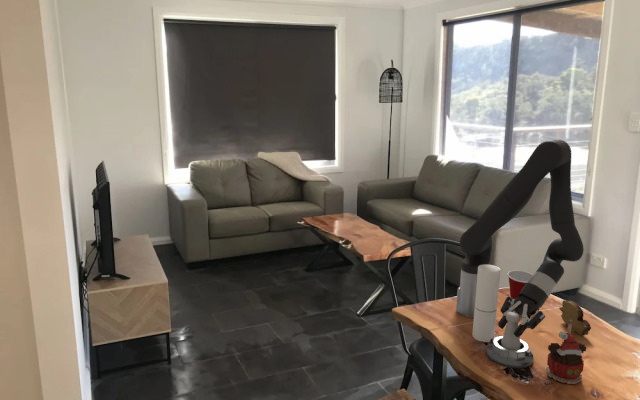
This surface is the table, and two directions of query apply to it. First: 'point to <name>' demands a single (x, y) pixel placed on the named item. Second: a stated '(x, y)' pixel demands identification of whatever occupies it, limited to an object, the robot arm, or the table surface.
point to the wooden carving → (574, 317)
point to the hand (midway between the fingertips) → (507, 331)
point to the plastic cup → (517, 281)
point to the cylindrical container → (486, 302)
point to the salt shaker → (511, 332)
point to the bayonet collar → (509, 354)
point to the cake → (566, 359)
